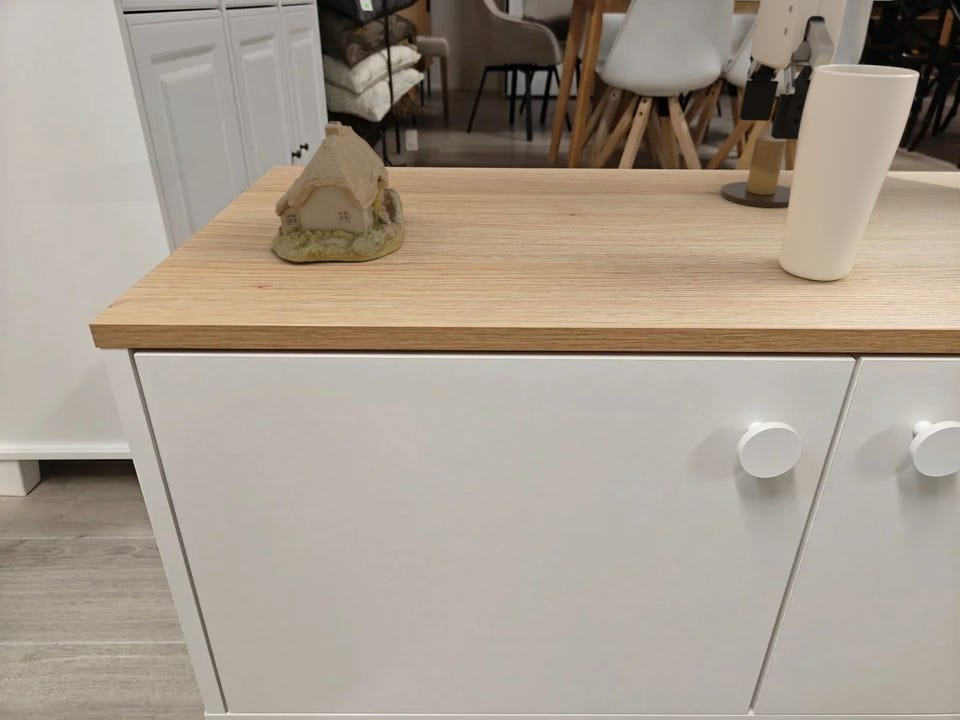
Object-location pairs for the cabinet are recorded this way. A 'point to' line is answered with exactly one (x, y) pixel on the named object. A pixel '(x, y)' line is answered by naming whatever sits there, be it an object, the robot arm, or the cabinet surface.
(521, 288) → the cabinet surface
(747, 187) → the lid
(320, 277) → the cabinet surface
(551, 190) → the cabinet surface
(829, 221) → the drinking glass
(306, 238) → the ceramic model
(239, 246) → the cabinet surface
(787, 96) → the robot arm
